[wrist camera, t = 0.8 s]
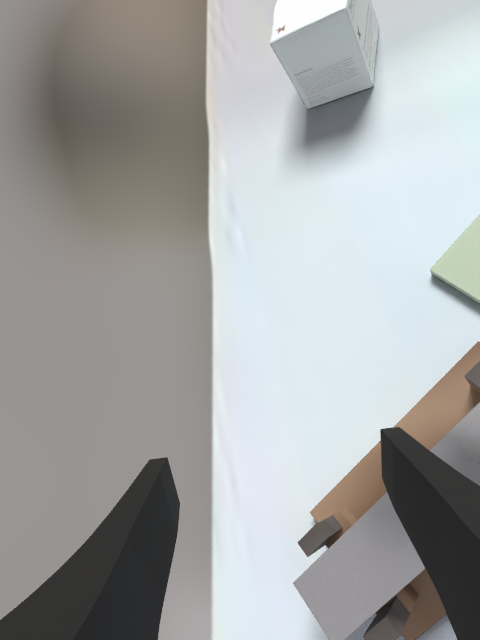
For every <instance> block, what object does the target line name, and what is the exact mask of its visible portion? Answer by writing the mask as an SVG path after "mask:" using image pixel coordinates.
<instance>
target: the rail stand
mask: <svg viewBox="0 0 480 640" xmlns="http://www.w3.org/2000/svg"><path fill="white" fill-rule="evenodd" d="M479 402H480V342H479V341H478V342H477V343H476V344H475V345H474V346H473V347H472V348H471V349H470V350H469V351H468V352H467V353H466V354H465V355H464V357H463V358H462V359H461V360H460V361H459V362H458V363H457V364H456V365H455V366H454V367H453V368H452V369H451V370H450V371H449V372H448V373H447V374H446V375H445V376H444V377H443V378H442V379H441V380H440V381H439V382H438V383H437V384H436V385H435V386H434V387H433V388H432V389H431V390H430V391H429V392H428V393H427V394H426V395H425V396H424V397H423V398H422V399H421V400H420V401H419V402H418V403H417V404H416V405H415V406H414V407H413V408H412V409H411V410H410V411H409V412H408V413H407V414H406V415H405V416H404V417H403V418H402V419H401V420H400V421H399V422H398V423H397V424H396V425H395V426H394V427H400V428H401V429H403V430H404V431H405V432H407V433H408V434H409V435H410V436H412V437H413V438H414V439H416V440H417V441H418V442H419V443H421V444H422V445H423V446H424V447H426V448H427V449H428V450H431V449H432V448H433V447H434V446H435V445H436V444H437V443H438V442H439V441H440V440H441V439H442V438H443V437H444V436H445V435H446V434H447V433H448V432H449V431H451V430H452V429H453V428H454V427H455V426H456V425H457V424H458V423H459V422H460V421H461V420H462V419H463V418H464V417H465V416H466V415H467V414H468V413H469V412H470V411H471V410H472V409H473V408H474V407H475V406H476V405H477V404H478V403H479ZM394 427H393V428H394ZM386 492H387V490H386V487H385V485H384V482H383V480H382V464H381V441H380V442H379V443H378V444H377V445H376V446H375V447H374V448H373V449H372V450H371V451H370V452H369V453H368V454H367V455H366V456H365V457H364V458H363V459H362V460H361V461H360V462H359V463H358V464H357V465H356V466H355V467H354V468H353V469H352V470H351V471H350V472H349V473H348V474H347V475H346V476H345V477H344V478H343V479H342V480H341V481H340V482H339V483H338V484H337V485H336V486H335V487H334V488H333V489H332V490H331V491H330V492H329V493H328V494H327V495H326V496H325V497H324V498H323V499H322V500H321V502H320V503H319V504H318V505H317V506H316V507H315V508H314V509H313V510H312V511H311V512H310V513H311V515H312V516H313V517H314V519H315V520H316V521H317V524H316V525H315V526H314V527H313V528H312V529H311V530H310V531H309V532H308V533H307V534H306V535H305V536H304V537H303V538H302V539H301V540H300V541H299V542H298V544H299V545H300V547H301V548H302V550H303V551H304V553H305V554H306V556H307V557H308V556H310V555H311V554H313V553H314V552H316V551H317V550H319V549H320V548H321V547H323V546H324V545H326V546H327V548H328V549H329V548H330V547H331V546H332V545H333V544H334V543H335V542H336V541H337V540H338V539H339V538H340V537H341V536H342V535H343V534H344V533H345V532H346V531H347V530H348V529H349V528H350V527H351V526H352V525H353V524H354V523H356V522H357V521H358V520H359V519H360V518H361V517H362V516H363V515H364V514H365V513H366V512H367V511H368V510H369V509H370V508H371V507H372V506H373V505H374V504H375V503H376V502H377V501H378V500H379V499H380V498H381V497H382V496H383V495H384V494H385V493H386ZM375 613H376V614H377V615H376V617H375V618H374V620H373V622H372V623H371V625H370V626H369V628H368V629H367V631H366V633H365V634H364V636H363V637H364V639H365V640H396V639H397V638H398V637H399V636H400V635H401V634H402V636H403V637H404V638H405V640H416V639H417V638H418V637H420V636H421V635H422V634H423V633H424V632H426V631H427V630H428V629H429V628H430V627H432V626H433V625H434V624H435V623H436V622H438V621H439V620H440V619H441V618H442V617H444V616H445V615H446V614H447V613H446V611H445V608H444V606H443V604H442V601H441V599H440V597H439V594H438V592H437V590H436V588H435V586H434V584H433V582H432V580H431V578H430V576H429V574H428V572H427V570H426V569H424V570H423V571H422V572H421V573H420V574H419V575H417V576H416V577H415V578H414V579H413V580H412V581H411V582H409V583H408V584H407V585H406V586H405V587H404V588H403V589H401V590H400V591H399V592H398V593H397V594H396V595H395V596H394V597H392V598H391V599H390V600H389V601H388V602H387V603H386V604H384V605H383V606H382V607H381V608H380V609H379V610H378V611H377V612H375Z"/></svg>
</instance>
